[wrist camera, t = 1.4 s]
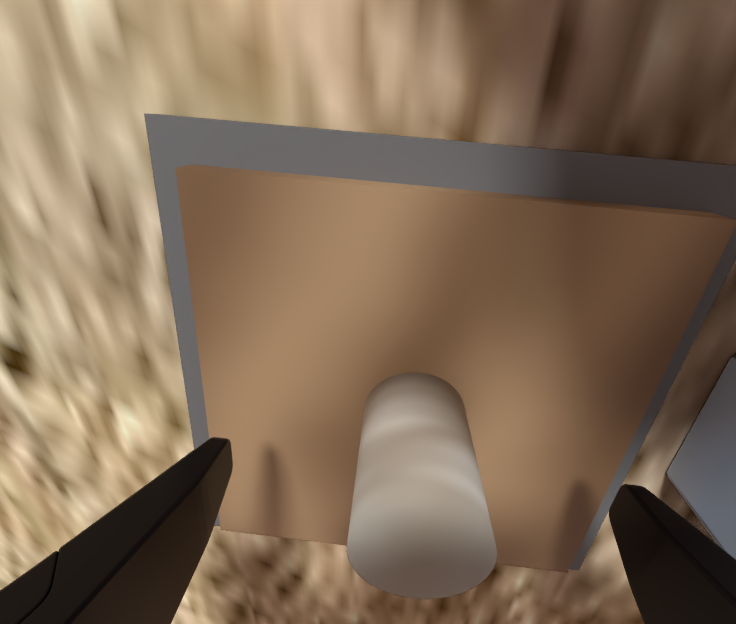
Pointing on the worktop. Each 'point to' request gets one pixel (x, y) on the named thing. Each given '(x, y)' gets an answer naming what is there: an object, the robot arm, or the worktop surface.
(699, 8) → the worktop surface
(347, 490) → the lid
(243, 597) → the worktop surface
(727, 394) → the bowl
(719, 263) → the mat
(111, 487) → the worktop surface
